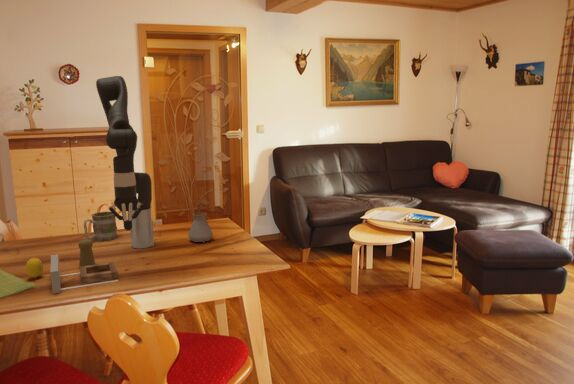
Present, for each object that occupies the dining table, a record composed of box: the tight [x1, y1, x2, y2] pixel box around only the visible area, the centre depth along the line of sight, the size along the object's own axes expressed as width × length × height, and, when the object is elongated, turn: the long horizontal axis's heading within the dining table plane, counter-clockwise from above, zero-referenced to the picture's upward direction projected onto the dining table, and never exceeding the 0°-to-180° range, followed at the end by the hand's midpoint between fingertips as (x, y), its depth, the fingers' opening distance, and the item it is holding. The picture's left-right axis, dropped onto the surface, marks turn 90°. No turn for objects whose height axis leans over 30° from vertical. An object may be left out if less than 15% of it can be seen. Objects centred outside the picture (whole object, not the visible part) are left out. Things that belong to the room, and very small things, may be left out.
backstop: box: [49, 253, 119, 295], centre depth 171 cm, size 21×20×8 cm
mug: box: [83, 211, 118, 243], centre depth 222 cm, size 16×11×12 cm
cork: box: [77, 238, 96, 269], centre depth 185 cm, size 6×6×11 cm
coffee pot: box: [187, 202, 214, 243], centre depth 224 cm, size 21×12×15 cm, turn 12°
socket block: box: [79, 261, 119, 285], centre depth 174 cm, size 12×12×3 cm
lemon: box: [25, 257, 44, 279], centre depth 173 cm, size 6×6×8 cm
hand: (128, 230), depth 176 cm, fingers closed
